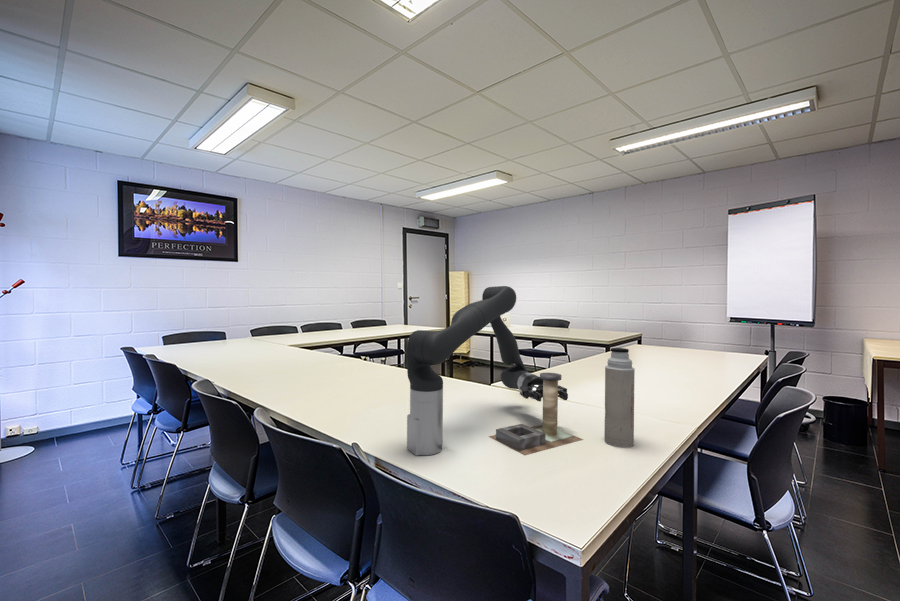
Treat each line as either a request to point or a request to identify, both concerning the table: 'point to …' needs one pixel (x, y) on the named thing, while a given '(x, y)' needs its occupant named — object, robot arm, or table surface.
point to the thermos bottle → (619, 399)
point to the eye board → (531, 438)
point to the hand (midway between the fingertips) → (553, 397)
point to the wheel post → (550, 402)
